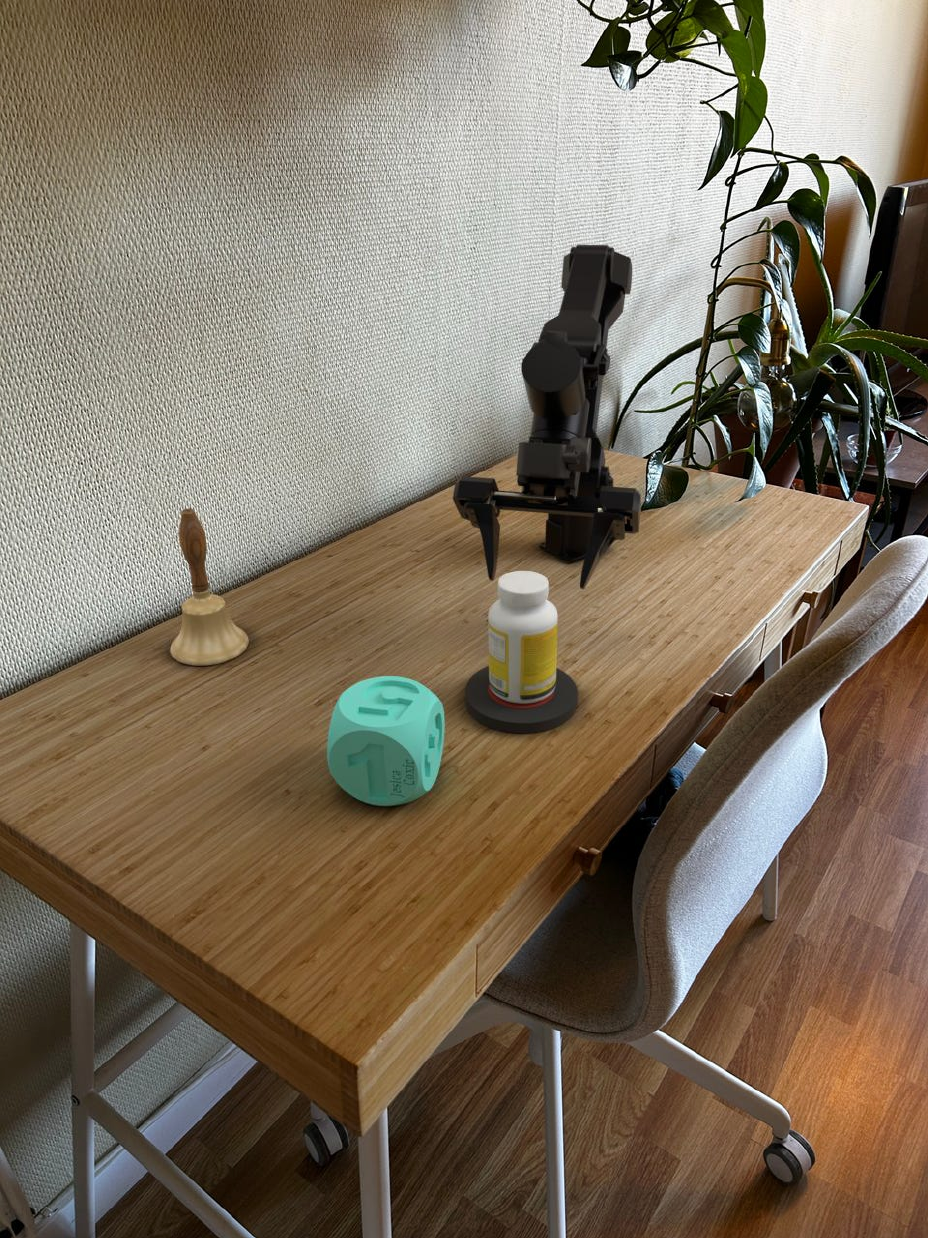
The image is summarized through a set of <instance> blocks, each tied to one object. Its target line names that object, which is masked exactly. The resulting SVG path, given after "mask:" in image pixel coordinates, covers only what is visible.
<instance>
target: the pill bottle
mask: <svg viewBox="0 0 928 1238" xmlns="http://www.w3.org/2000/svg"><path fill="white" fill-rule="evenodd" d="M549 583H550V582H549V580H548V577H546V576H545V575H543V574H541V573H539V572H535V571H530V570H515V571H511V572H507V573H505V574H503V575H501V576H500V577H499V578H498V580H497V590H496V591H497V597H498V599H497V600H496V601H495V602H493V604H492V605H491V606H490V608H489V610H488V616H487V619H488V620H487V622H488V623H487V624H488V625H487V627H488V628H487V629H488V666H489V684H490V688H491V690H492V691H493V693H494V694H495V695H496V696H498V697H499V698H501V699H503V700H505V701H508V702H512V703H518V704H529V703H535V702H538V701H541V700H543V699H545V698H547V697H548V696H550V695H551V693H552V692H553V691H554V689H555V685H556V668H557V659H558V657H557V654H558V624H559V623H558V621H559V614H558V610H557V608H556V606H555V605H554V604H553V603H552V602H551V601H550V600H548V597H549V594H550V586H549V585H550V584H549Z"/></svg>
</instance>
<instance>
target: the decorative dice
mask: <svg viewBox="0 0 928 1238" xmlns="http://www.w3.org/2000/svg"><path fill="white" fill-rule="evenodd" d="M445 725H446V724H445V709H444V705H443V703H442V701H441V700H440V699H439V697H437V695H436V694H435V693H434V692H433V691H432V690H431V689H430V688H428V687H426V685H423V684H422V683H421V682H419V681H417V680H415V679H412V678H408V677H404V676H398V675H397V676H395V675H382V676H375V677H369V678H366V679H363V680H361V681H359V682H356V683H354V684H352V685H351V686H349V687H348V688H347V689H346V690H344V691H343V692H342V693H341V694H340V696H339V697H338V699H337V702H336V704H335V706H334V708H333V711H332V714H331V718H330V722H329V726H328V727H329V728H328V732H327V733H328V734H327V744H326V745H327V746H326V757H327V759H326V760H327V767H328V770H329V773H330V775H331V776H332V778H333V779H334V781H335V782H336V783H337V784H338V785H339V787H340V788H342V790H343V791H344V792H346V793H347V794H348V795H350V796H351V797H353V798H355V799H357V800H358V801H361V802H362V803H365V804H369V805H373V806H378V807H393V806H400V805H405V804H408V803H411V802H413V801H416V800H417V799H419V798H421V797H422V796H424V795H426V794H427V793H428V792H429V791H430V790H432V788H433V786H434V784H435V782H436V780H437V778H438V775H439V774H438V773H439V770H440V767H441V763H442V762H441V761H442V756H443V750H444V741H445V728H446V727H445Z"/></svg>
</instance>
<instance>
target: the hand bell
mask: <svg viewBox="0 0 928 1238" xmlns="http://www.w3.org/2000/svg"><path fill="white" fill-rule="evenodd" d="M180 514H181V515H180V522H179V528H178V540H179V545H180V549H181V552H182V554H183V557H184V559H185V561H186V562H187V565H188V567H189V571H190V572H189V573H190V579H191V589H192V594H193V595H192V596H191V597H189V598H187V599H186V600H184V601H183V603H182V605H181V615H182V617H181V627H180V631H179V634H178V635H177V636H176V637H175V638H174V639H173V641H172V643H171V646H170V651H169V652H170V655H171V657H172V658H173V659H174V660H176V661H177V662H179V663H181V664H184V665H188V666H196V667H197V666H198V667H200V666H201V667H203V666H214V665H215V666H216V665H219V664H222V663H227V662H229V661H231V660H232V659H235V658H236V657H238V656H240V655H242V654H243V653H244V652H245V651H246V650H247V648H248V646H249V643H250V639H249V637H248V634H247V633H246V632H245V631H244V630H243V629H242V628H240V627H238V626H237V625H236V624H235V623H234V622H233V620H232V619H231V617H230V614H229V612H228V609H227V605H226V602H225V599H224V598H223V597H221V596H220V595H218V594H215V593H214V594H213V593H211V590H210V584H209V580H208V576H207V570H206V557H207V538H206V533H205V529H204V527H203V524H202V523H201V521H200V520H199V517H198V515H197V513H196V511H195V509H194V508H184V509H182V510H181V513H180Z"/></svg>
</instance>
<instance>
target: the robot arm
mask: <svg viewBox="0 0 928 1238" xmlns="http://www.w3.org/2000/svg"><path fill="white" fill-rule="evenodd" d="M562 258H563V260H562V271H561V284H560V287H561V289H562V290H563V296H562V300H561V304H560V307H559V312H558V314H557V315H556V316H554V317H552V318H551V319H549V320H548V321H546V322H545V323H544V324H543V326H542V329H541V332H540V334H539V337H538V341H534V342H533V343H532V345H531V347H530V349H529V350H528V351H527V352H526V354H525V356H524V357H523V358H522V361H521V364H520V365H521V375H522V379H523V383H524V388H525V391H526V397H527V400H528V405H529V408H530V410H531V412H532V420H531V425H530V434H529V437H528V441H520V442H518V449H517V460H516V463H517V464H516V471H515V472H516V473H515V475H516V477H517V479H516V481H517V485H518V487H521V491H509V490H499V487H498V484H497V481H496V479H495V478H494V477H480V476H468V475H467V476H465V475H462V476H461V477H460V478H459V479H458V480H457V481H456V482H455V484H454V487H453V488H454V489H453V494H452V501H453V503H454V505H455V507H456V509H457V511H458V513H459V515H460V517H461V519H464V520H466V521H469V523H470V524H471V527H473V528H476V529H479V532H480V536H481V542H482V546H483V553H484V558H485V564H486V571H487V577H488V579H489V581H492V582H494V580H495V578H496V577H495V576H496V573H497V569H498V557H499V544H500V533H501V524H500V522H499V519H498V518H499V517H500V514H501V511H514V512H524V513H525V512H527V513H539V514H547V519H546V520H545V539H544V541H542V542H539V544H538V545H539V548H540V549H542V550H544V551H546V552H548V553H550V554H552V555H553V556H555V557H558V558H560V559H561V560H563V561H565V562H567V563H575V562H578V561H581V560H583V563H582V566H581V571H580V579H579V589H580V590H585V589H586V587H587V585H588V583H589V581H590V580H591V578H592V576H593V575H594V572H595V570H596V569H597V567H598V565H599V564H600V562H601V560H602V558H603V557H604V555H605V554H607V553H606V552H608V550H609V548H610V547H612V545H613V543H614V542H615V541H623V540H625V539H626V534H631V535H633V534H638V533H639V531H640V523H641V513H642V494H641V493H640V492H639V491H638V489H637V488H635V487H623V486H615V485H614V478H613V477H612V476H611V472H610V467H609V466H607V465H606V456H605V451H604V450H605V449H604V447H603V445H602V442H601V440H600V438H599V436H598V434H597V431H598V422H599V415H600V407H601V406H600V405H601V398H602V390H603V389H602V388H603V380H604V377H605V376H606V375H607V373H608V371H609V369H610V366H611V356H610V354H609V353H608V348H607V347H608V339H609V331H610V329H611V328H612V327H613V325H614V324H615V323H616V321H618V319H619V318H620V316H621V315H622V314H624V313H623V312H624V308H625V301H626V300H625V299H626V295H631V293H632V292H631V291H632V284H633V262H632V259H631V257H630V256H627V255H625V254H622V253H620V252H617V251H616V250H615V248H614V247H612V246H611V247H610V246H609V244H577V245H576V246H571V248H570V252H569V253H568V254H566V255H564V256H563V257H562Z"/></svg>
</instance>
